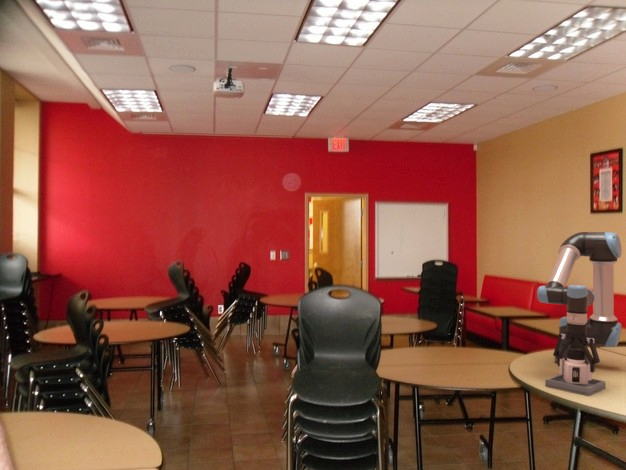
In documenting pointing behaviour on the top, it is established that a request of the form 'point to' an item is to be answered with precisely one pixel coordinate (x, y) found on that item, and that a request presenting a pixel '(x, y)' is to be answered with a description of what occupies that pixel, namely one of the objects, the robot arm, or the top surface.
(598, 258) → the robot arm
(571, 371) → the container
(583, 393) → the tray
